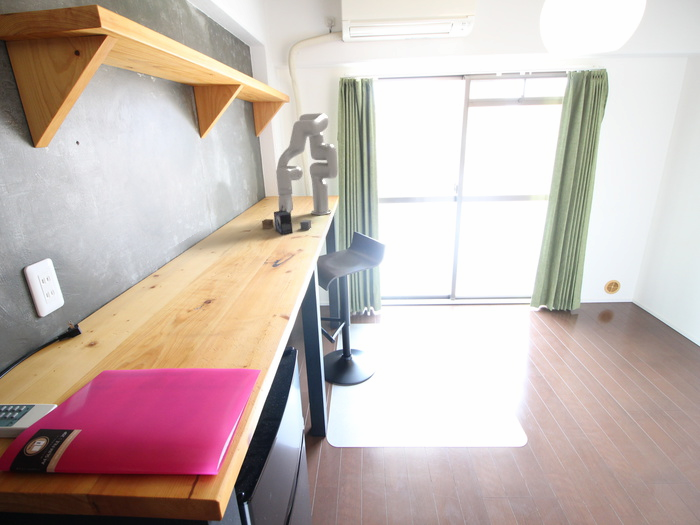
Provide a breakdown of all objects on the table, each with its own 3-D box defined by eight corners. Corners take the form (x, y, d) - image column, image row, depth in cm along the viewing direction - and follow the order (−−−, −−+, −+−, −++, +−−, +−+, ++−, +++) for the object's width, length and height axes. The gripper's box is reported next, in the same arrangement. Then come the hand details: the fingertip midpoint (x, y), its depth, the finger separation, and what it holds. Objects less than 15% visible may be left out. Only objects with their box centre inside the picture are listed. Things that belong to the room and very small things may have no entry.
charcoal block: (303, 227, 203) (302, 220, 202) (311, 228, 203) (310, 220, 201) (300, 230, 199) (300, 221, 198) (308, 230, 198) (308, 222, 197)
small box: (274, 230, 199) (272, 211, 196) (286, 228, 202) (284, 210, 199) (281, 235, 191) (279, 215, 187) (293, 233, 194) (291, 213, 190)
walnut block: (266, 227, 208) (265, 219, 206) (273, 227, 207) (272, 219, 205) (262, 229, 203) (261, 221, 202) (270, 229, 203) (269, 221, 201)
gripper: (283, 189, 206) (286, 221, 212) (273, 193, 192) (276, 228, 198) (296, 189, 204) (298, 221, 211) (286, 194, 190) (289, 228, 197)
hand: (288, 224), depth 204 cm, fingers closed
